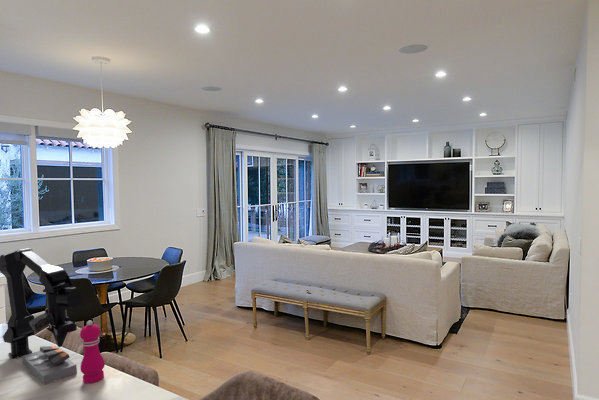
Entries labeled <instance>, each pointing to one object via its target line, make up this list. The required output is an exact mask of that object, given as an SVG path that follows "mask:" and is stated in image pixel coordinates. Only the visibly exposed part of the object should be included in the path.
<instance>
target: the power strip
mask: <svg viewBox="0 0 599 400" xmlns="http://www.w3.org/2000/svg"><path fill="white" fill-rule="evenodd" d="M21 358H22V360H21V361H22V365H23V366H24V367H25V368H26V369H27V370H28V371H29V372H30V373H32V375H33V376H34V377H36V378H37V379H38V380H39V382H40V383H41V384H42V385H43V386H45V385H48V384H51V383H53V382H56V381H58V380H61V379H64V378H68V377H70V376H72V375H75V374H77V373H78V369H77V368H78V367H77V364H76V363H75V362H74V361H72V360H71V359H70V358H68V359H66V360H65V362H64V363H63V364H60V363H59V364H58V365H56V366H54V365H53V364H52V363H51V362H50V359H47V358H46V357H45V353H42V352H41V351H40V350H37V351H34V352H32V353H31V354H27V355H24V356H21Z"/></svg>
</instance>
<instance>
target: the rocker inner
mask: <svg viewBox="0 0 599 400" xmlns="http://www.w3.org/2000/svg"><path fill="white" fill-rule="evenodd" d="M57 349H60V347H58V346H57V345H52V346H51V345H48V346H47V345H46V346H40V347H39V351H41V352H42V353H46V352H50V351H53V350H57Z"/></svg>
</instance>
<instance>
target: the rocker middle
mask: <svg viewBox="0 0 599 400" xmlns="http://www.w3.org/2000/svg"><path fill="white" fill-rule="evenodd" d="M63 352H65V351H64V350H62V348H59V349H57V350H53V351H50V352H46V353H45V357H46V358H47V359H52V358H54V357H56V356H58V355H59V354H61V353H63Z"/></svg>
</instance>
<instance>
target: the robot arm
mask: <svg viewBox="0 0 599 400" xmlns="http://www.w3.org/2000/svg"><path fill="white" fill-rule="evenodd" d="M26 267H27V268H29V269H30V270H31V271H32V272H33V273H35V274H36V275H37V276H38V280H39V282H40V284H42V286H43V287H44V289H43V290H42V293H46V294H45V295H46V305H47V307H46V308H45V309H44V313H42V314H40V315H38V316H36V317H35V316H34V315H33V314H30V313H29V311H28V310H27V303H26V294H25V287H24V281H23V273H24V271H25V269H26ZM0 273H1V274H2V275H3V276H4V277H5V278H6V285H7V293H8V298H9V299H8V300H9V307H10V313H11V314H10V316H9V318H8V320H7V329H6V331H5V332H4V334H3V336H2V339H3V342H4V343H8V344H10V352H9V353H8V354H7V355H8V356H9V357H10V358H11V359H13V360H14V359H17V358H20V357H21V358H22V356H24V355H27V354H31V353H33V350H31V349H30V344H29V343H30V342H29V337H31V336H34V335H35V332H36V333H37V332H39V331H41V330H43V329H44V328H45V327H46V328H45V329H46V330H47V331H48V332H49V333H52V335H53V338H54V340H55V343H56V347H57V348H62V346H64V345H63V344H64V343H65V340H66V338H67V336H68V333H72V332H75V331H77V330H78V329H77V324H76V323H75V322H73V321H71V320H70V317H69V316H67V315H68V314H67V313H68V312H67V310H69V308H72V309H73V308H77V307H79V306H80V305H81V304H82V301H83V294H82V293H81V292H80V291H79V290H77V287H75V285H74V283H73V280H72V279H71V278H70V276H69V274H68V272H67V271H66V270H65V269H64V268H62V267H60V266H58V265H52V264H50V263H48V262H47V261H45V260H44V259H43V258H42V257H40V256H39V255H38V254H36V253H35V252H34V251H33V249H32V248H29V247H27V248H20V249H17V250H15V251H13V252H10V253H5V254H4V253H3V254H1V255H0Z"/></svg>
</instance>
